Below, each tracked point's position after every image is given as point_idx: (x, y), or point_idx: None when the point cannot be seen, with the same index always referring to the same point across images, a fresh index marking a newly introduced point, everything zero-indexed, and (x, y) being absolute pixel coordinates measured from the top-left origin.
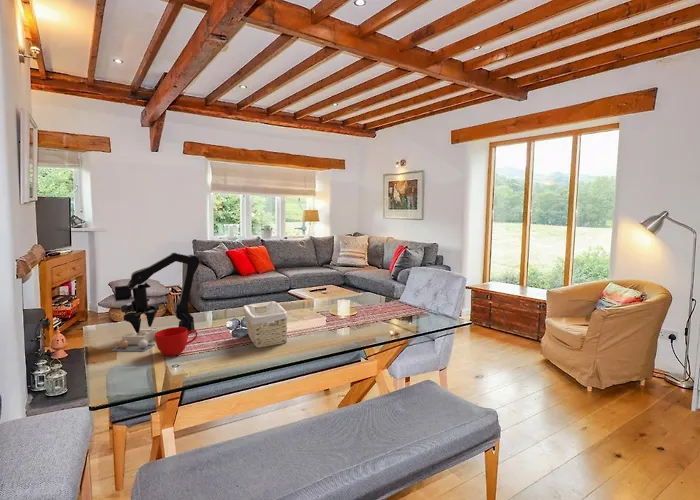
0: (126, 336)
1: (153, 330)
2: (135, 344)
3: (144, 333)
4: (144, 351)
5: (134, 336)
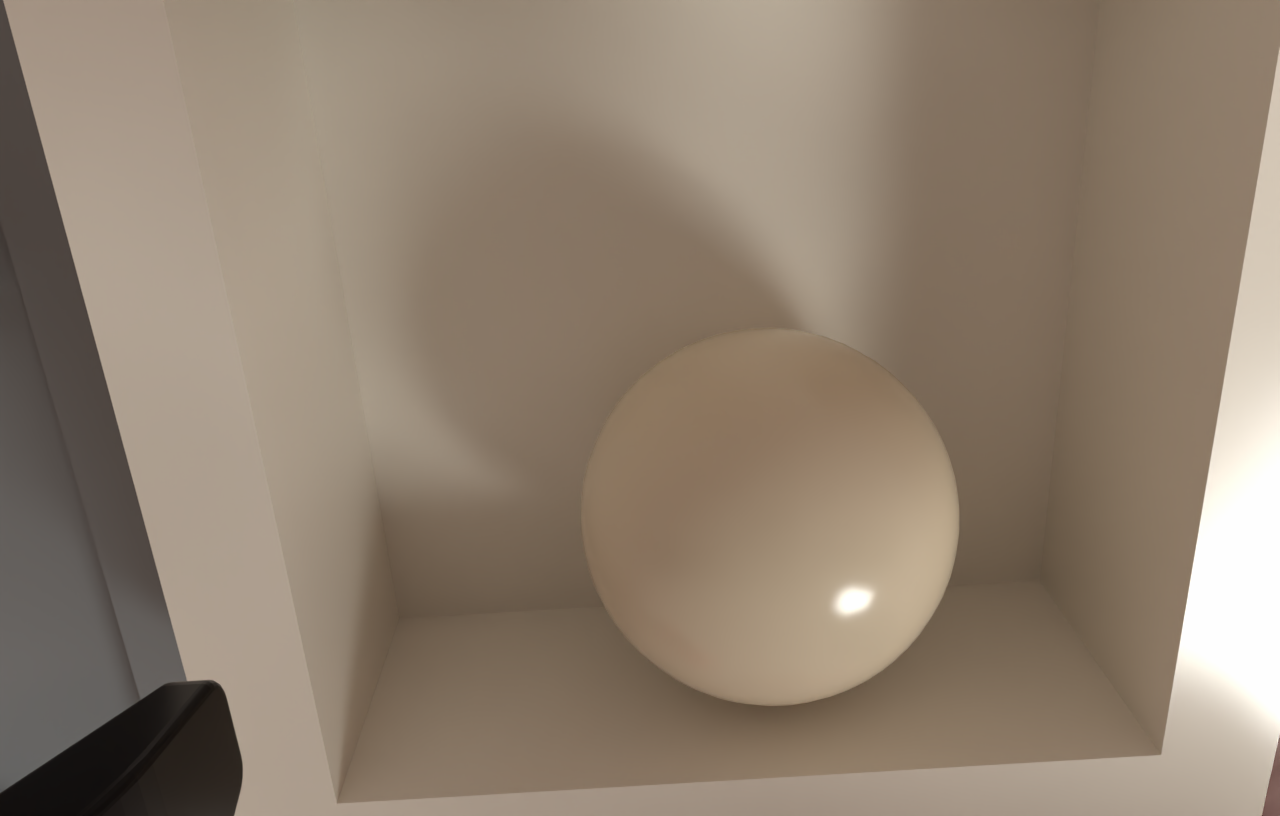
0: (36, 33)
1: (1077, 776)
2: (108, 529)
3: (656, 657)
4: None
5: (158, 508)
